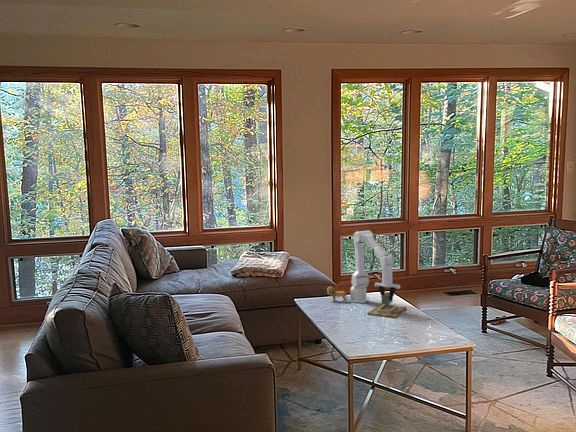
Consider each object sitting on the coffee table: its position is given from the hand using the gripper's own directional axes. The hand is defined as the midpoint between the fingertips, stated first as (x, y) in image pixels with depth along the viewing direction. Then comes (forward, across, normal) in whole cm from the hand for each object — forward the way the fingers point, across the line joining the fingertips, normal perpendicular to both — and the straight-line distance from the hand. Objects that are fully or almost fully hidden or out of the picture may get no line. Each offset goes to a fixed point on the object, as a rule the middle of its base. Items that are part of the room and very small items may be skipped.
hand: (387, 299), depth 324 cm
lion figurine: (+7, -34, +8) cm, 36 cm away
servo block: (+2, 0, 0) cm, 2 cm away
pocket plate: (+7, 0, 0) cm, 7 cm away
